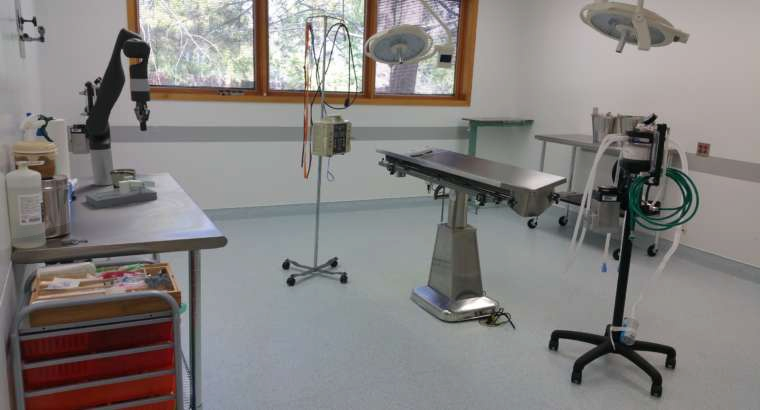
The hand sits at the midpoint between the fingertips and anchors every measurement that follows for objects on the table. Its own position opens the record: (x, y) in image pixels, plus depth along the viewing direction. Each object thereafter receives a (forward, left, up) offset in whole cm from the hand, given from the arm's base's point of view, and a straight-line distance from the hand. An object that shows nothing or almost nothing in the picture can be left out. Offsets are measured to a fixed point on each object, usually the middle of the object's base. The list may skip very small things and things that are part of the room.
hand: (143, 130), depth 234 cm
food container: (-15, -4, -29) cm, 33 cm away
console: (+1, -12, -29) cm, 31 cm away
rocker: (+6, -5, -22) cm, 23 cm away
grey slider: (-3, -7, -26) cm, 27 cm away
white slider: (+6, -12, -26) cm, 29 cm away
